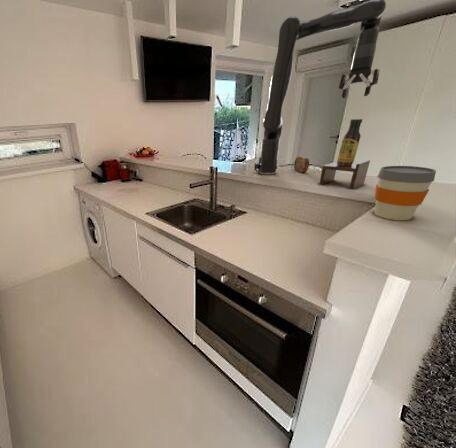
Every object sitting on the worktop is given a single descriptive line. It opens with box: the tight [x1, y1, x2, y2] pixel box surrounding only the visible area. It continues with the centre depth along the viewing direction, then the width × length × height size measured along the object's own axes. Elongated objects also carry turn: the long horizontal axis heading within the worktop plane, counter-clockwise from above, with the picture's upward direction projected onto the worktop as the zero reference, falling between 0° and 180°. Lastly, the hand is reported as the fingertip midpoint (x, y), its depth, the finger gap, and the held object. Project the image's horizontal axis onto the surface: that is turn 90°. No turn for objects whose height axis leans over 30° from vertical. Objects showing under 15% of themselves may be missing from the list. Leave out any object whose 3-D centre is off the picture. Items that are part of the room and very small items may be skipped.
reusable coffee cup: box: [374, 165, 437, 221], centre depth 77 cm, size 13×13×15 cm
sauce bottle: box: [336, 118, 363, 166], centre depth 110 cm, size 6×6×20 cm
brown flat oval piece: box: [293, 155, 310, 173], centre depth 147 cm, size 15×3×8 cm, turn 172°
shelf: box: [318, 159, 371, 190], centre depth 115 cm, size 14×12×11 cm
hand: (354, 97), depth 117 cm, fingers open, 8 cm apart
